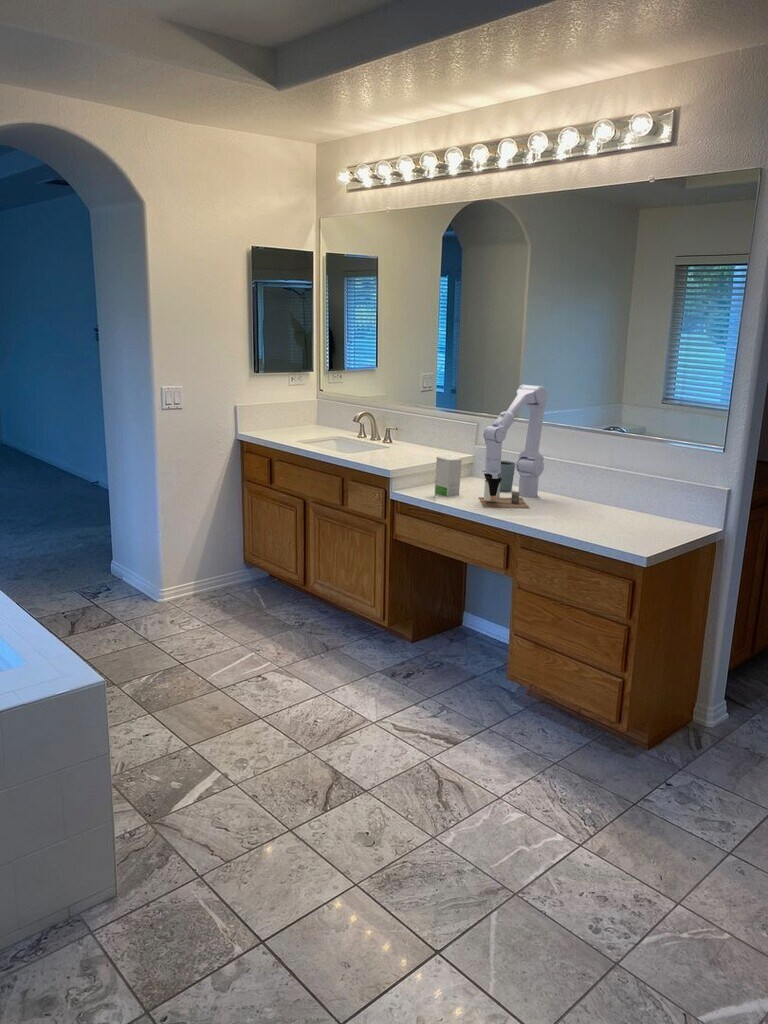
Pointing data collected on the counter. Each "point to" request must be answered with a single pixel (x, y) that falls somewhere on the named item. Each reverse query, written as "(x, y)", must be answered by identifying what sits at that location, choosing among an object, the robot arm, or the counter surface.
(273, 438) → the counter surface
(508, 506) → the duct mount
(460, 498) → the counter surface
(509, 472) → the green plant pot
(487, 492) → the duct sleeve
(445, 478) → the skincare box
